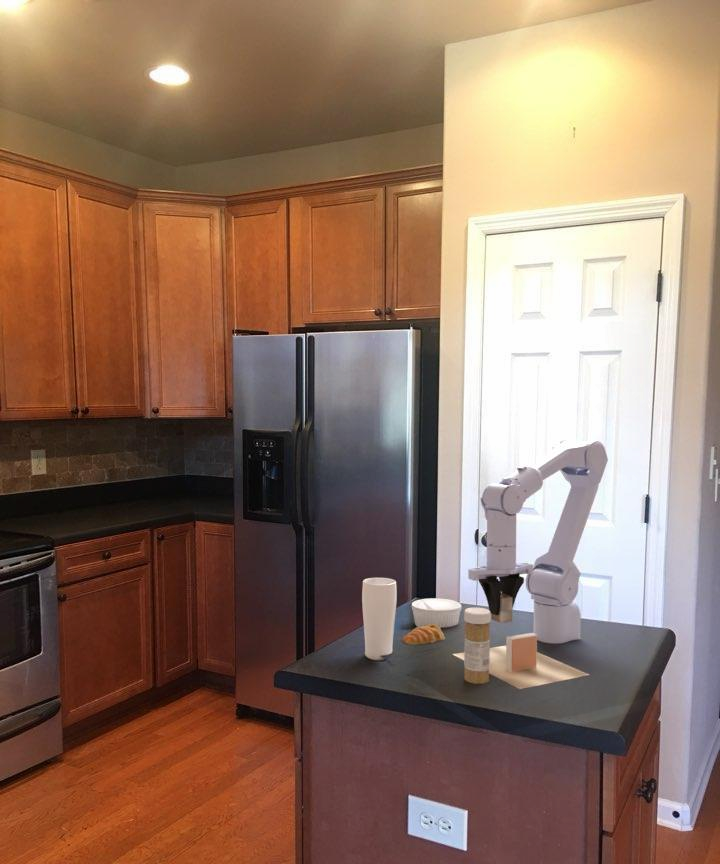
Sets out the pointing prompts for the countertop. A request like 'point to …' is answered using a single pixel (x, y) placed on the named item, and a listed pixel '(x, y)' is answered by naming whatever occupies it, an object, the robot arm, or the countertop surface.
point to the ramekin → (436, 612)
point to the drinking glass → (378, 616)
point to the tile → (521, 652)
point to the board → (529, 670)
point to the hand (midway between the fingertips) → (500, 612)
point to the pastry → (423, 635)
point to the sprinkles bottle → (477, 645)
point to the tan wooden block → (504, 609)
